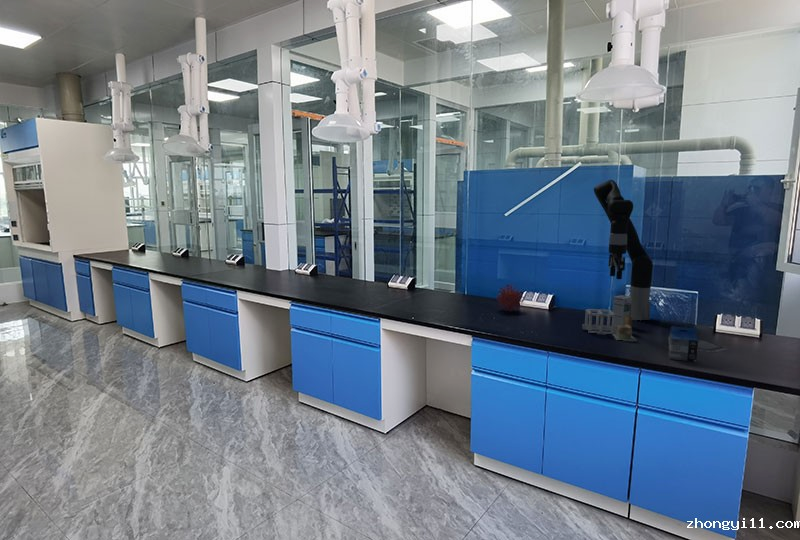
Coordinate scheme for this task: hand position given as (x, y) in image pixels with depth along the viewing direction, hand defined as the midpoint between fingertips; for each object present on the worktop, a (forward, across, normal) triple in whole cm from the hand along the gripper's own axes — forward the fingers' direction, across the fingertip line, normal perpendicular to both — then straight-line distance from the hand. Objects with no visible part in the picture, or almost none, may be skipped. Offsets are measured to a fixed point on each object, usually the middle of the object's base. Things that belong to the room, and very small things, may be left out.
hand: (615, 277), depth 212 cm
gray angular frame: (+25, +4, -7) cm, 27 cm away
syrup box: (+25, -8, +7) cm, 28 cm away
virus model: (+25, -31, -44) cm, 60 cm away
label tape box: (+26, +40, +12) cm, 49 cm away
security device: (+26, +22, +28) cm, 44 cm away
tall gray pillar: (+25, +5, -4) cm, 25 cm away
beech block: (+24, +14, 0) cm, 28 cm away
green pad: (+25, +14, 0) cm, 29 cm away
